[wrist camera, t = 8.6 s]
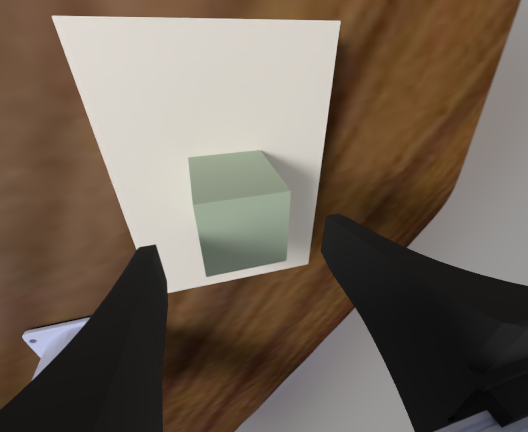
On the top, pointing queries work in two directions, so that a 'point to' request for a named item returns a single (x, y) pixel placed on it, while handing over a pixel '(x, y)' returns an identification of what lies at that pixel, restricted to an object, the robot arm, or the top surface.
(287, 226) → the green block
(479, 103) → the top surface
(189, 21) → the base plinth
